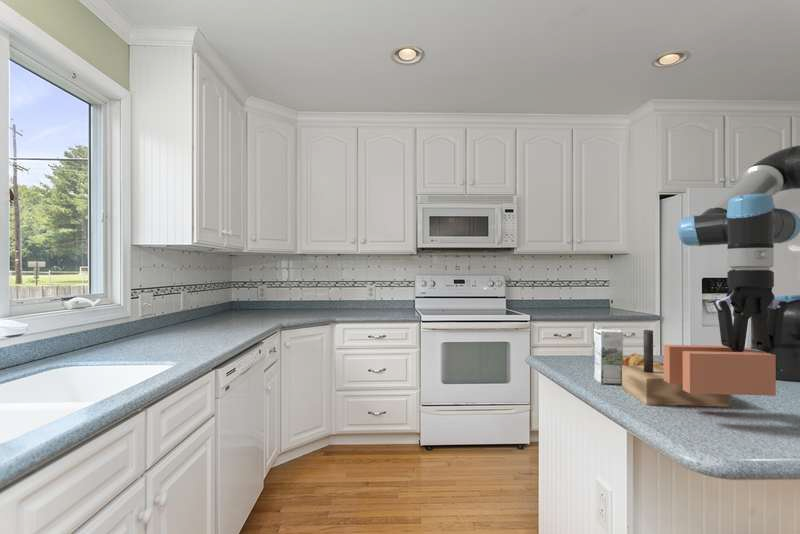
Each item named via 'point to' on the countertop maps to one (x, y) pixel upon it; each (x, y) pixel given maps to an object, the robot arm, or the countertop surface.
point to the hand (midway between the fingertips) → (750, 381)
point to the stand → (662, 384)
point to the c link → (720, 370)
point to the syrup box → (608, 355)
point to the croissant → (637, 361)
